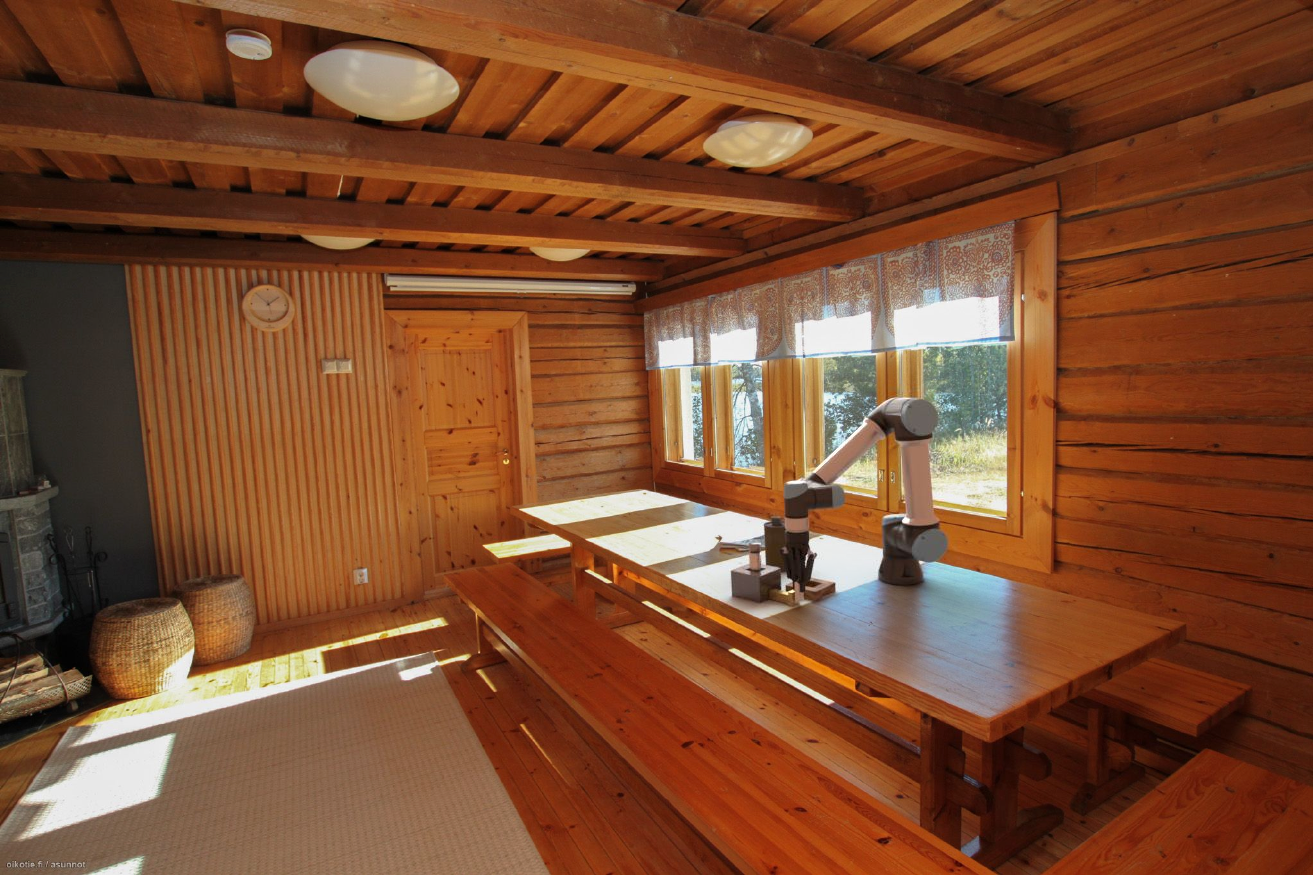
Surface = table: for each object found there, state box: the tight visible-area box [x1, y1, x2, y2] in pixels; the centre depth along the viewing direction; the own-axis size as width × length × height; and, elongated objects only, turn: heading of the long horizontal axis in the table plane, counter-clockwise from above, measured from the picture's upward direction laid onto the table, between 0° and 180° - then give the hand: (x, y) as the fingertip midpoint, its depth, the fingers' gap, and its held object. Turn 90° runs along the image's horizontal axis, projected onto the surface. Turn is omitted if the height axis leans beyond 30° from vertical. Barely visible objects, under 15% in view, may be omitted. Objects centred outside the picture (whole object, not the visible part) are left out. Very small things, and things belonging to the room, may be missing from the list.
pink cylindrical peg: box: [748, 541, 762, 572], centre depth 231 cm, size 4×4×14 cm
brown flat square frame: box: [784, 577, 836, 602], centre depth 232 cm, size 12×12×3 cm
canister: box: [763, 515, 790, 573], centre depth 261 cm, size 11×10×20 cm
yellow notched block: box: [768, 588, 799, 607], centre depth 225 cm, size 12×4×4 cm, turn 44°
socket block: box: [730, 563, 782, 604], centre depth 232 cm, size 12×12×9 cm
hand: (799, 601), depth 220 cm, fingers closed
